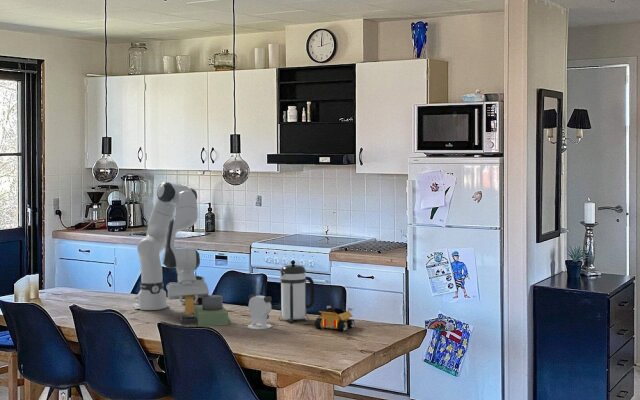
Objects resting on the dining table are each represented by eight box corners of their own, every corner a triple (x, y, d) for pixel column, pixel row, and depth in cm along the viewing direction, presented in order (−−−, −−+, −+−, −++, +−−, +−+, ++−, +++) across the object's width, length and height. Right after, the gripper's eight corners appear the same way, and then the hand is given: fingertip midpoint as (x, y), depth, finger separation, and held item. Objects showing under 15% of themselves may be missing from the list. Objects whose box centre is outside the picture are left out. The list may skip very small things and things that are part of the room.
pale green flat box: (178, 318, 424) (177, 294, 423) (221, 315, 430) (221, 292, 429) (182, 327, 401) (182, 302, 400) (228, 324, 406) (227, 300, 406)
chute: (184, 312, 415) (184, 296, 414) (193, 311, 416) (192, 295, 415) (185, 313, 411) (185, 297, 410) (194, 313, 412) (193, 297, 411)
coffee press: (307, 323, 407) (306, 262, 405) (275, 322, 410) (274, 261, 408) (314, 316, 424) (314, 258, 422) (283, 316, 427) (283, 257, 425)
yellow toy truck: (356, 327, 399) (356, 305, 399) (341, 333, 386) (341, 310, 386) (329, 324, 407) (329, 302, 406) (313, 330, 394) (313, 307, 393)
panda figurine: (277, 326, 403) (276, 295, 402) (262, 330, 393) (262, 298, 392) (257, 323, 409) (257, 292, 408) (242, 327, 400) (242, 296, 399)
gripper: (166, 279, 417) (168, 302, 408) (207, 276, 422) (210, 299, 413) (165, 286, 421) (167, 309, 412) (206, 284, 426) (209, 306, 417)
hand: (189, 304), depth 413 cm, fingers closed on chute, 4 cm apart
